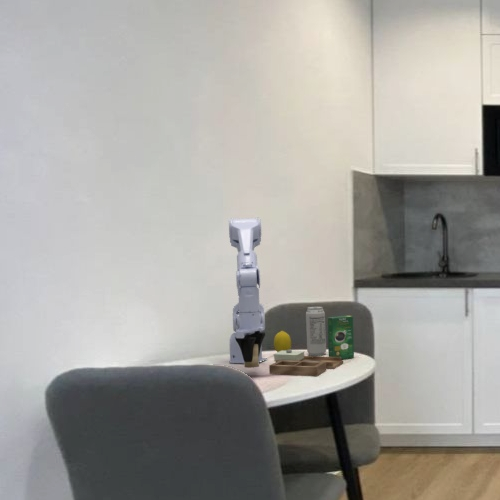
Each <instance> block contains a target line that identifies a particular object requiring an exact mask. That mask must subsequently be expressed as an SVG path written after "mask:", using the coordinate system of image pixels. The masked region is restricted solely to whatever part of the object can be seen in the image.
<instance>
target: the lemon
mask: <svg viewBox="0 0 500 500" xmlns="http://www.w3.org/2000/svg"><path fill="white" fill-rule="evenodd" d="M273 347H274V349H275V351H276V353H277V352H279V351H282V350H283V351H286V350H291V349H292V340H291V335H289V333H287V332H286V331H284V330H281V331H279V332H277V333H276V334H275V336H274V339H273Z"/></svg>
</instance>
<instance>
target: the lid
mask: <svg viewBox="0 0 500 500" xmlns="http://www.w3.org/2000/svg"><path fill="white" fill-rule="evenodd" d="M272 355H273V361H274V362H275V360H290V361H300V360H302V359H303V358H304V356H305V351H304V350H292V349H290V350H286V351H283V350H282V351H279V352H277V351H276V352H275V353H273V354H272Z"/></svg>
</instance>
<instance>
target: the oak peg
mask: <svg viewBox="0 0 500 500" xmlns="http://www.w3.org/2000/svg"><path fill="white" fill-rule="evenodd" d="M243 364H244V365H243V366H244V368H248V369H249V368H250V369H251V368H253V369H254V368H257V367H260V363H259V355H258V344H254V348H253V359H252V362H244V363H243Z"/></svg>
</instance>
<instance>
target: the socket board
mask: <svg viewBox="0 0 500 500" xmlns="http://www.w3.org/2000/svg"><path fill="white" fill-rule="evenodd" d="M268 366H269V367H268V369H269V375H281V376H284V375H285V376H302V377H303V376H305V377H318V376H320V375H321V374H323V373H324V372H325V373H326V371H327V369H326V362H311V361H286V360H279V361H277V362H275V361H274V362H273V363H272V364H269V365H268Z"/></svg>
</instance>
